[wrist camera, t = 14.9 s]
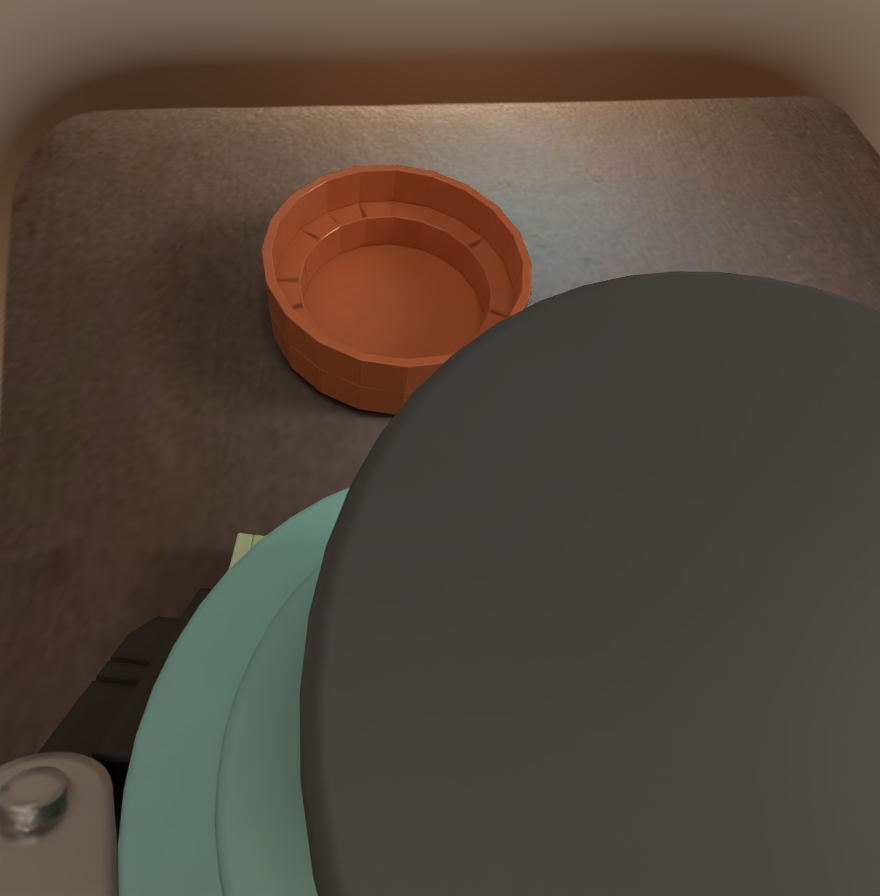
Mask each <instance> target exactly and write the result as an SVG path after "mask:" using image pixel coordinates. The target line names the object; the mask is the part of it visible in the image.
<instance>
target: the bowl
mask: <svg viewBox="0 0 880 896" xmlns="http://www.w3.org/2000/svg"><path fill="white" fill-rule="evenodd" d="M262 259H263V266H264V274H265V281H266V288H267V296H268V303H269V310H270V318H271V325H272V332H273V337H274V339H275V341H276V342H277V344H278V346H279V348H280V349H281V351H282V353H283V354H284V356H285V358H286V360H287V361H288V363H289V365H290V366H291V367H292V368H293V369H294V370H295V371H296V372H297V373H298V374H300V375H301V376H302V377H303V378H304V379H305V380H307V381H308V382H309V383H310V384H311V385H312V386H314V387H315V388H316V389H317V390H318V391H321V393H323V394H325V395H327V396H330V397H332V398H334V399H336V400H339V401H341V402H343V403H346V404H348V405H350V406H352V407H355V408H357V409H360V410H367V411H374V412H381V413H388V414H395V415H396V413H397V412H398V411H399V410H400V408H401V407H402V406H403V405H404V403H405V402H406V401H407V399H408V398H409V397H410V396H411V394H412V393H413V392H414V391H415V390H416V389H417V388H418V387H419V386H420V385H421V384H422V383H423V382H424V381H425V380H426V379H427V378H429V377H430V376H431V375H432V374H433V373H434V372H435V371H436V370H437V369H438V368H439V367H440V366H441V365H442V364H443V363H444V362H445V361H446V360H448V359H449V358H450V357H451V356H452V355H453V354H455V353H456V352H457V351H458V350H460V349H461V348H463V347H464V346H466V345H467V344H468V343H470V342H471V341H473V340H474V339H475V338H477V337H478V336H480V335H481V334H483V333H484V332H485V331H487V330H488V329H490V328H491V327H492V326H494V325H495V324H497V323H498V322H500V321H502V320H504V319H506V318H508V317H510V316H512V315H514V314H516V313H518V312H520V311H522V310H524V309H525V308H526V305H527V302H528V300H529V297H530V295H531V260H530V257H529V255H528V252H527V250H526V247H525V244H524V242H523V239H522V237H521V234H520V232H519V231H518V230H517V228H516V227H515V226H514V225H513V224H512V222H511V221H510V220H509V219H508V217H507V216H506V215H505V214H504V213H503V211H502V210H501V209H500V208H499V207H498V206H497V205H496V204H494V203H493V202H491V201H490V200H489V199H487V198H486V197H484V196H483V195H481V194H480V193H479V192H477V191H476V190H474V189H473V188H472V187H470V186H468V185H466V184H464V183H461V182H459V181H456V180H454V179H451V178H449V177H446V176H444V175H441V174H439V173H437V172H433V171H429V170H424V169H418V168H412V167H407V166H401V165H373V166H358V167H357V166H356V167H352V168H348V169H345V170H341V171H337V172H334V173H330V174H327V175H323V176H321V177H319V178H317V179H316V180H314V181H312V182H311V183H309V184H307V185H306V186H304V187H302V188H301V189H299V190H297V191H296V192H294V193H293V194H291V195H290V197H289V198H288V199H287V200H286V201H285V203H284V204H283V205H282V206H281V207H280V209H279V210H278V211H277V212H276V213H275V215H274V216H273V217H272V218H271V220H270V223H269V226H268V230H267V233H266V236H265V240H264V243H263V246H262Z"/></svg>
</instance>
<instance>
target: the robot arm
mask: <svg viewBox="0 0 880 896" xmlns="http://www.w3.org/2000/svg"><path fill="white" fill-rule="evenodd" d="M211 590H212V589H206V588H201V589H200V590H199V591H198V592H197V594H196V595H195V597H194V598H193V600H192V601H191V603H190V604H189V606H188V607H187V609H186V610H185V612H184V613H183V615H182V616H181V618H180V619H176V618H167V617H159V616H158V617H156V618H154V619H153V620H151V621H149V622H148V623H146V624H144V625H143V626H141V627H139V628H138V629H136V630H134V631H133V632H131V633H129V634H128V636H127V637H126V638H125V640H124V641H123V642H122V643H121V645H120V646H119V647H118V649H117V650H116V651H115V653H114V654H113V655H112V657H111V661H108V662H107V663H106V664H105V666H104V667H103V668H102V670H101V671H100V672H99V674H98V675H97V677H96V681H92V683H91V684H90V685H89V687H88V688H87V689H86V691H85V692H84V693H83V694H82V696H81V697H80V698H79V700H78V701H77V702H76V704H75V705H74V706H73V708H72V709H71V710H70V711H69V713H68V714H67V715H66V717H65V718H64V719H63V721H62V722H61V723H60V725H59V726H58V727H57V728H56V730H55V731H54V732H53V734H52V735H51V736H50V738H49V739H48V740H47V742H46V743H45V744H44V745H43V747H42V748H41V749H40V751H39V752H38V753H37V754H34V755H29V756H25V757H22V758H19V759H16V760H13V761H10V762H8V763H6V764H3V765H1V766H0V896H119V886H118V840H119V830H120V820H121V810H122V801H123V791H124V786H125V781H126V777H127V773H128V768H129V764H130V759H131V755H132V750H133V746H134V741H135V737H136V734H137V731H138V728H139V726H140V723H141V720H142V717H143V714H144V711H145V709H146V706H147V703H148V700H149V697H150V694H151V692H152V689H153V687H154V684H155V682H156V680H157V678H158V676H159V674H160V672H161V670H162V668H163V666H164V664H165V662H166V660H167V658H168V656H169V654H170V652H171V650H172V648H173V646H174V644H175V642H176V641H177V639H178V638H179V636H180V634H181V633H182V631H183V630H184V628H185V627H186V625H187V624H188V622H189V621H190V619H191V617H192V616H193V614H194V613H195V611H196V610H197V608H198V607H199V605H200V604H201V603H202V601H203V600H204V599H205V598H206V596H207V595H208V594H209V593H210V592H211Z"/></svg>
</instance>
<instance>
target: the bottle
mask: <svg viewBox="0 0 880 896" xmlns="http://www.w3.org/2000/svg"><path fill="white" fill-rule="evenodd" d="M118 886H119V896H880V309H877V308H875V307H872V306H870V305H867V304H865V303H862V302H859V301H855V300H852V299H849V298H846V297H843V296H839V295H836V294H833V293H830V292H827V291H823V290H820V289H817V288H813V287H808V286H803V285H799V284H794V283H790V282H785V281H780V280H776V279H771V278H765V277H757V276H748V275H740V274H731V273H723V272H664V273H654V274H643V275H633V276H626V277H621V278H617V279H612V280H607V281H603V282H598V283H593V284H589V285H584V286H581V287H578V288H575V289H573V290H570V291H567V292H564V293H561V294H559V295H556V296H553V297H550V298H547V299H544V300H542V301H539V302H537V303H535V304H533V305H531V306H529V307H527V308H525V309H524V310H522V311H520V312H518V313H516V314H514V315H512V316H510V317H508V318H506V319H504V320H502V321H500V322H498V323H497V324H495V325H494V326H492V327H491V328H490V329H488V330H487V331H485V332H484V333H483V334H481V335H480V336H478V337H477V338H475V339H474V340H473V341H471V342H470V343H468V344H467V345H466V346H464V347H463V348H461V349H460V350H458V351H457V352H456V353H455V354H453V355H452V356H451V357H450V358H449V359H448V360H446V361H445V362H444V363H443V364H442V365H441V366H440V367H439V368H438V369H437V370H436V371H435V372H434V373H433V374H432V375H431V376H430V377H429V378H427V379H426V380H425V381H424V382H423V383H422V384H421V385H420V386H419V387H418V388H417V389H416V390H415V391H414V392H413V393H412V394H411V396H410V397H409V398H408V399H407V401H406V402H405V403H404V405H403V406H402V407H401V408H400V410H399V411H398V412H397V413H396V415H395V416H394V417H393V419H392V420H391V421H390V422H389V424H388V425H387V426H386V427H385V429H384V430H383V431H382V432H381V434H380V435H379V437H378V439H377V440H376V442H375V444H374V446H373V447H372V449H371V451H370V453H369V454H368V456H367V458H366V459H365V461H364V463H363V465H362V466H361V468H360V470H359V472H358V473H357V475H356V477H355V479H354V480H353V482H352V484H351V485H350V487H349V488H347V489H344V490H342V491H339V492H337V493H335V494H332V495H330V496H328V497H325V498H324V499H322V500H320V501H318V502H317V503H315V504H313V505H311V506H310V507H308V508H306V509H304V510H303V511H301V512H299V513H297V514H296V515H294V516H292V517H291V518H289V519H288V520H287V521H285V522H284V523H283V524H281V525H280V526H279V527H277V528H276V529H274V530H273V531H272V532H270V533H269V534H268V535H266V536H265V537H264V538H262V539H261V540H260V541H258V542H257V543H256V544H255V545H254V546H253V547H252V548H251V549H250V550H249V551H248V552H247V553H246V554H245V555H244V556H243V557H242V558H241V559H240V560H239V561H237V562H236V563H235V564H234V565H233V566H232V567H231V568H230V569H229V570H228V571H227V572H226V574H225V575H224V576H223V577H222V578H221V580H220V581H219V582H218V583H217V584H216V586H215V587H214V588H213V589H212V590H211V592H210V593H209V594H208V595H207V596H206V598H205V599H204V600H203V601H202V603H201V604H200V605H199V607H198V608H197V610H196V611H195V613H194V614H193V616H192V617H191V619H190V621H189V622H188V624H187V625H186V627H185V628H184V630H183V631H182V633H181V634H180V636H179V638H178V639H177V641H176V642H175V644H174V646H173V648H172V650H171V652H170V654H169V656H168V658H167V660H166V662H165V664H164V666H163V668H162V670H161V672H160V674H159V676H158V678H157V680H156V682H155V684H154V687H153V689H152V692H151V694H150V697H149V700H148V703H147V706H146V709H145V711H144V714H143V717H142V720H141V723H140V726H139V728H138V731H137V734H136V737H135V741H134V746H133V750H132V755H131V759H130V764H129V768H128V773H127V777H126V781H125V786H124V791H123V801H122V810H121V820H120V830H119V840H118Z"/></svg>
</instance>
